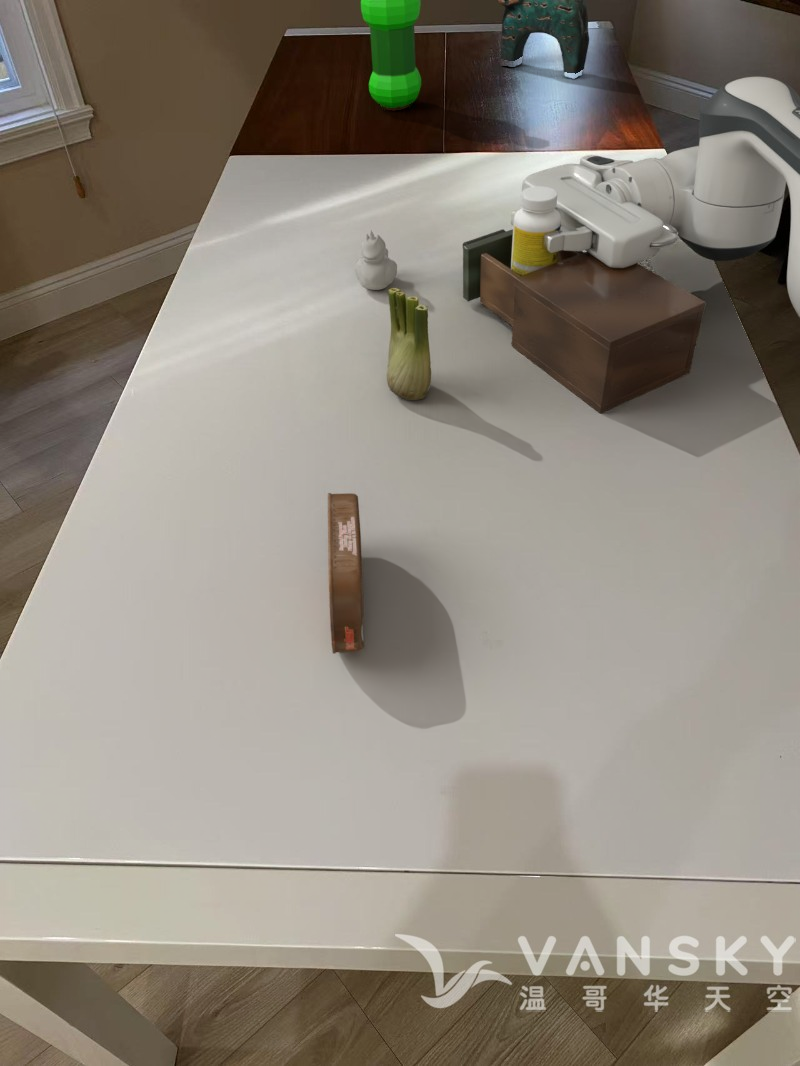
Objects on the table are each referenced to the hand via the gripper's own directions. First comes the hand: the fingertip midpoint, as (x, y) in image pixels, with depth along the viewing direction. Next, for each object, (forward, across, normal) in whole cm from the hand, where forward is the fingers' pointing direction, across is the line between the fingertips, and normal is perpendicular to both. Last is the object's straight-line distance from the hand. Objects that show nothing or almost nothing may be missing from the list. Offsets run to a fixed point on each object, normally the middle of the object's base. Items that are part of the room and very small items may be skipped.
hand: (529, 232), depth 94 cm
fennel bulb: (+19, -7, -11) cm, 23 cm away
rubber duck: (+12, +16, -11) cm, 23 cm away
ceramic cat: (-52, +77, -10) cm, 94 cm away
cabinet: (-2, -12, -11) cm, 17 cm away
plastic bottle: (-18, +75, -10) cm, 78 cm away
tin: (+37, -32, -11) cm, 50 cm away
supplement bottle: (-1, 0, -6) cm, 6 cm away
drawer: (-1, +2, -10) cm, 10 cm away
